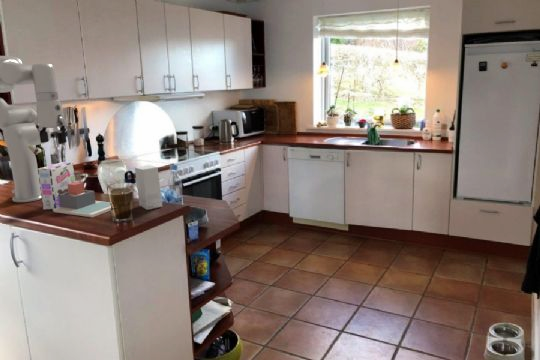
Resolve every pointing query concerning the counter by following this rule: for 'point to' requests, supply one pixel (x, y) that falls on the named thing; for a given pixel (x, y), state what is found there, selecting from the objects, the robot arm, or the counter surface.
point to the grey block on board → (82, 204)
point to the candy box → (55, 183)
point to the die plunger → (76, 188)
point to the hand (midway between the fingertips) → (53, 142)
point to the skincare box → (148, 187)
